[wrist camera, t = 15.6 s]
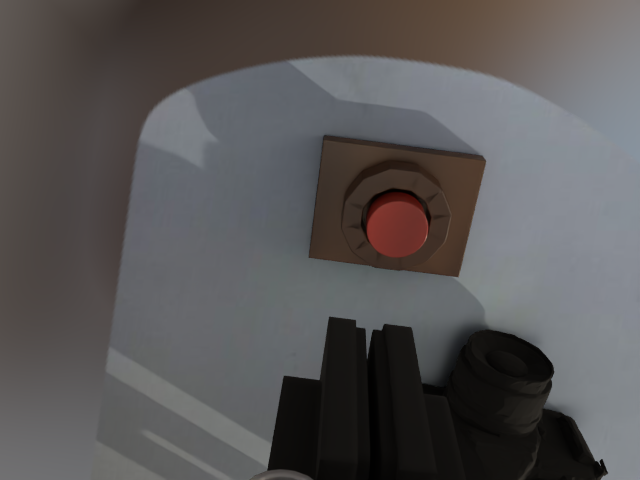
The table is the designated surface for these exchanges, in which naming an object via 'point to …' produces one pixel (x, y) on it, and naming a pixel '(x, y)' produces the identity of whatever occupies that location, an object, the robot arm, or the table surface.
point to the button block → (394, 176)
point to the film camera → (511, 414)
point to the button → (396, 224)
